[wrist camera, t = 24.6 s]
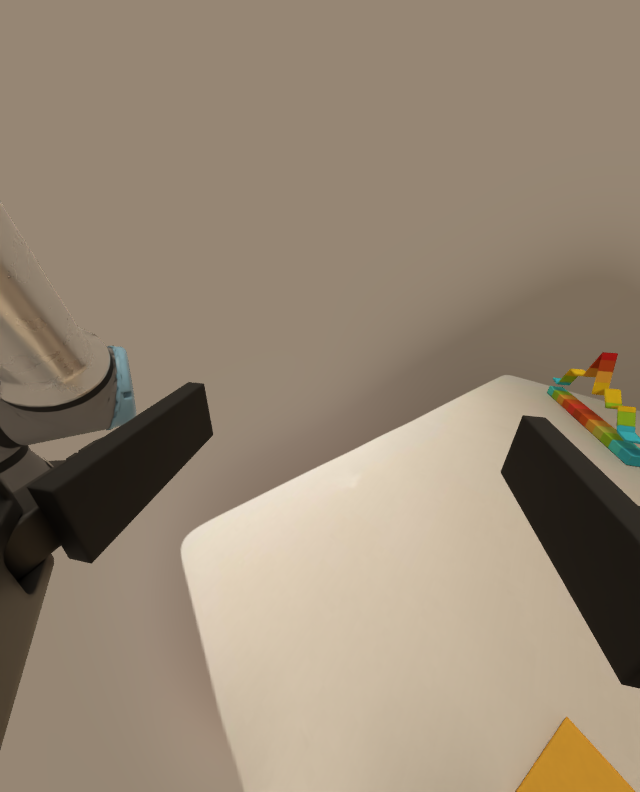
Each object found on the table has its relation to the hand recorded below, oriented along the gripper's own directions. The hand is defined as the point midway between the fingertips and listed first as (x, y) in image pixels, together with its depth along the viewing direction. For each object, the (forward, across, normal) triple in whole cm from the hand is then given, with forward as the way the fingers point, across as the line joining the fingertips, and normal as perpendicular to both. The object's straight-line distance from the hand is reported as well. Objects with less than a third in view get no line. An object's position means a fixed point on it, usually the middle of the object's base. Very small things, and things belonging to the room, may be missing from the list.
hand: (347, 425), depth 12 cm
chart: (+53, +49, -25) cm, 76 cm away
